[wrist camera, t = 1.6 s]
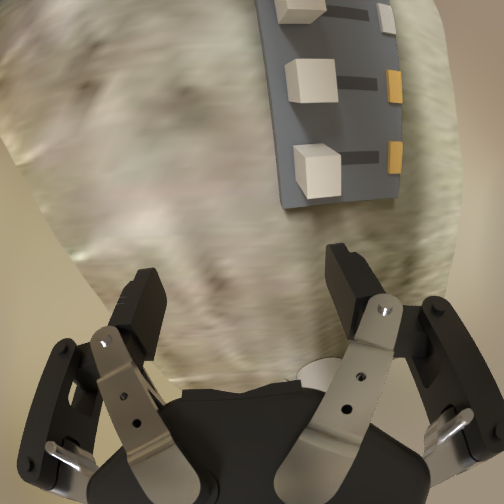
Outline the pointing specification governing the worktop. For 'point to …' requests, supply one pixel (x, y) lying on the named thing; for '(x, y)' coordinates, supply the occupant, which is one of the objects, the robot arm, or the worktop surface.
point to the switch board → (339, 97)
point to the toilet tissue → (319, 373)
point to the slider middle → (311, 80)
